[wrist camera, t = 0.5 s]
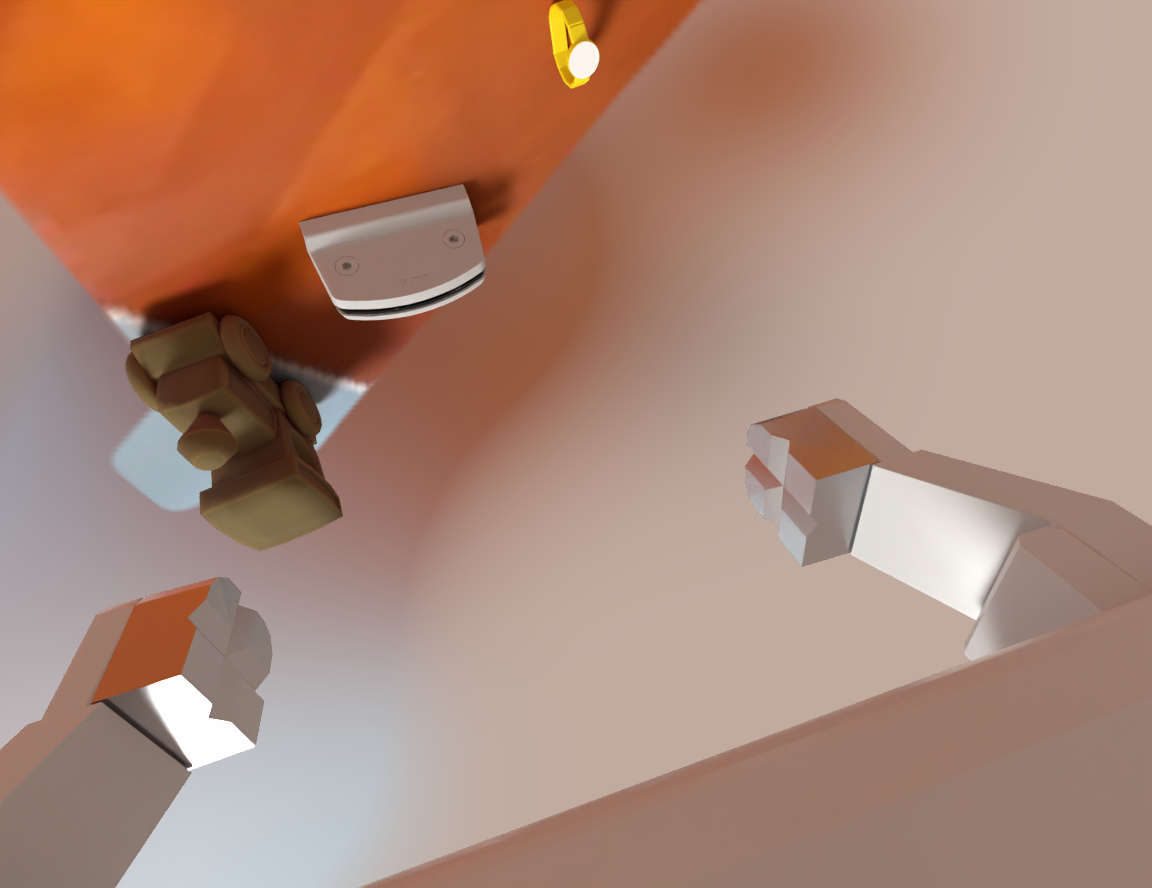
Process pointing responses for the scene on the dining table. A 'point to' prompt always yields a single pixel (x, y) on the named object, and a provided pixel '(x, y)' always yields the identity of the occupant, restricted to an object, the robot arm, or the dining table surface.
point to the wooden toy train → (237, 428)
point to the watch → (582, 51)
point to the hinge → (398, 254)
